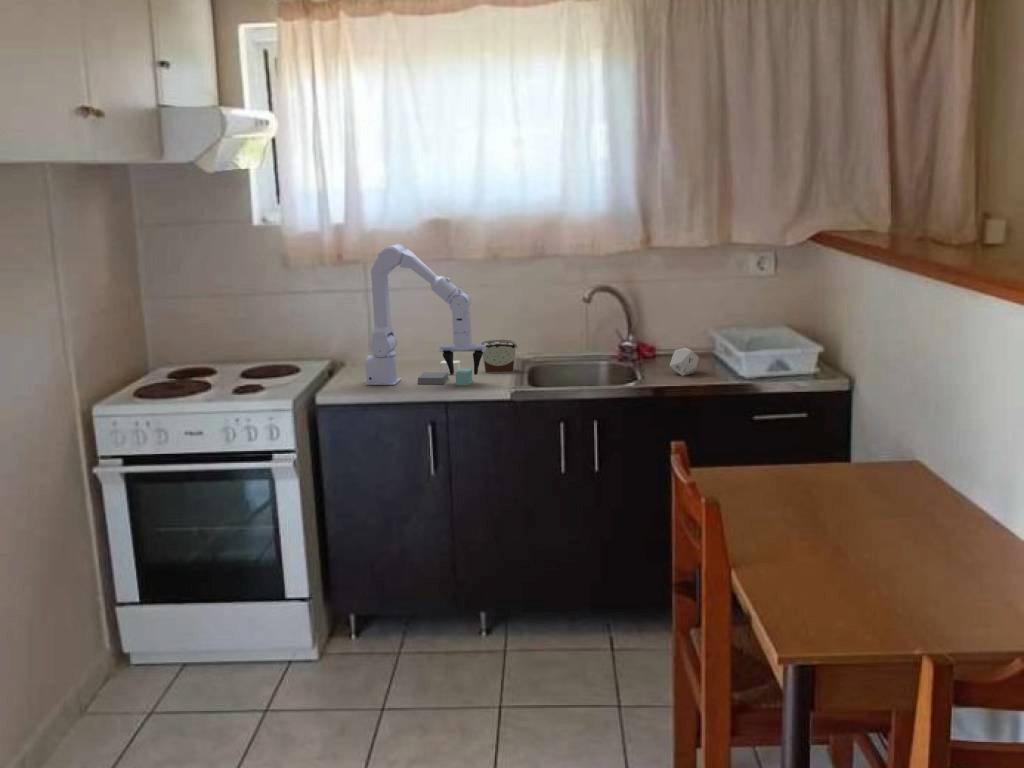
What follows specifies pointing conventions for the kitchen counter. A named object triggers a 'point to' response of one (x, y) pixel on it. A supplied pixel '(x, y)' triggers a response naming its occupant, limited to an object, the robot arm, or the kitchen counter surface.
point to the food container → (499, 356)
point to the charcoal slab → (433, 378)
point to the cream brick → (445, 367)
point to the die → (684, 361)
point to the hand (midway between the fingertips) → (464, 374)
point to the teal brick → (463, 376)
